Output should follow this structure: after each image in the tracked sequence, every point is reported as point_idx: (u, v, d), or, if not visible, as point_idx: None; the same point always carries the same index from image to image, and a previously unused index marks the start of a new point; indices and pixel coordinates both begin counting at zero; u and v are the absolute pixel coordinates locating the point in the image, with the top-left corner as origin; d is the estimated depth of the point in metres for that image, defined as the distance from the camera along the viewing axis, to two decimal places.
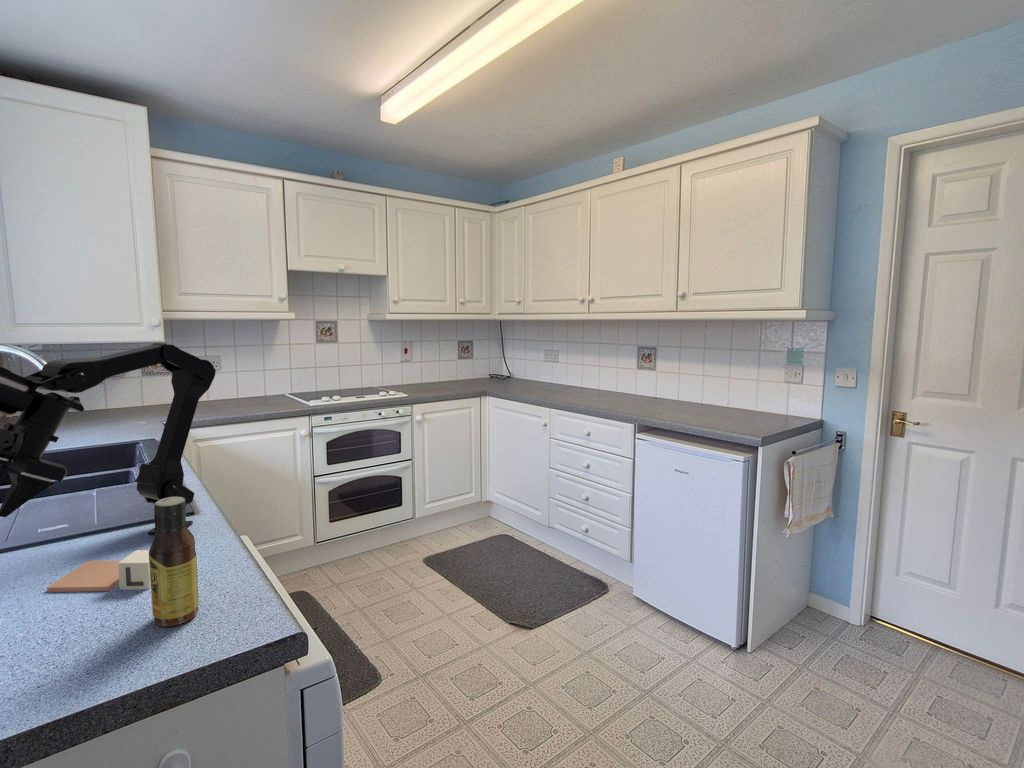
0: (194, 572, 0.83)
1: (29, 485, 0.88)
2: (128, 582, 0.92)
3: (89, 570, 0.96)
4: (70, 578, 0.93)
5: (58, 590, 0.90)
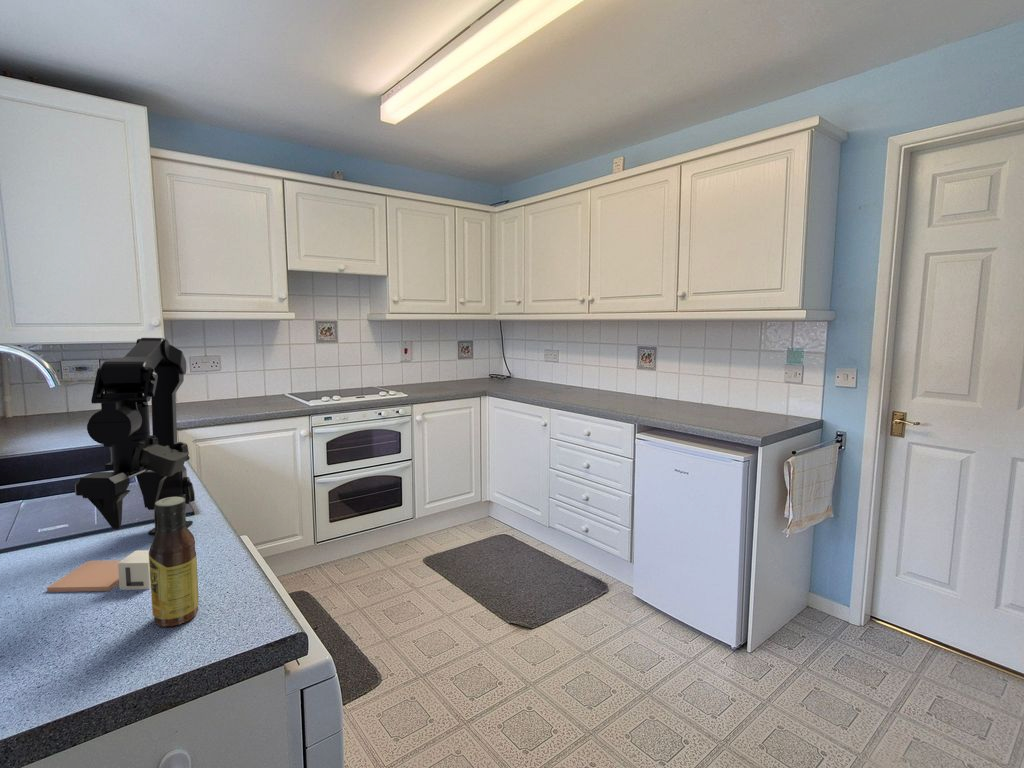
0: (194, 572, 0.83)
1: None
2: (128, 583, 0.92)
3: (89, 570, 0.96)
4: (70, 578, 0.93)
5: (58, 590, 0.90)
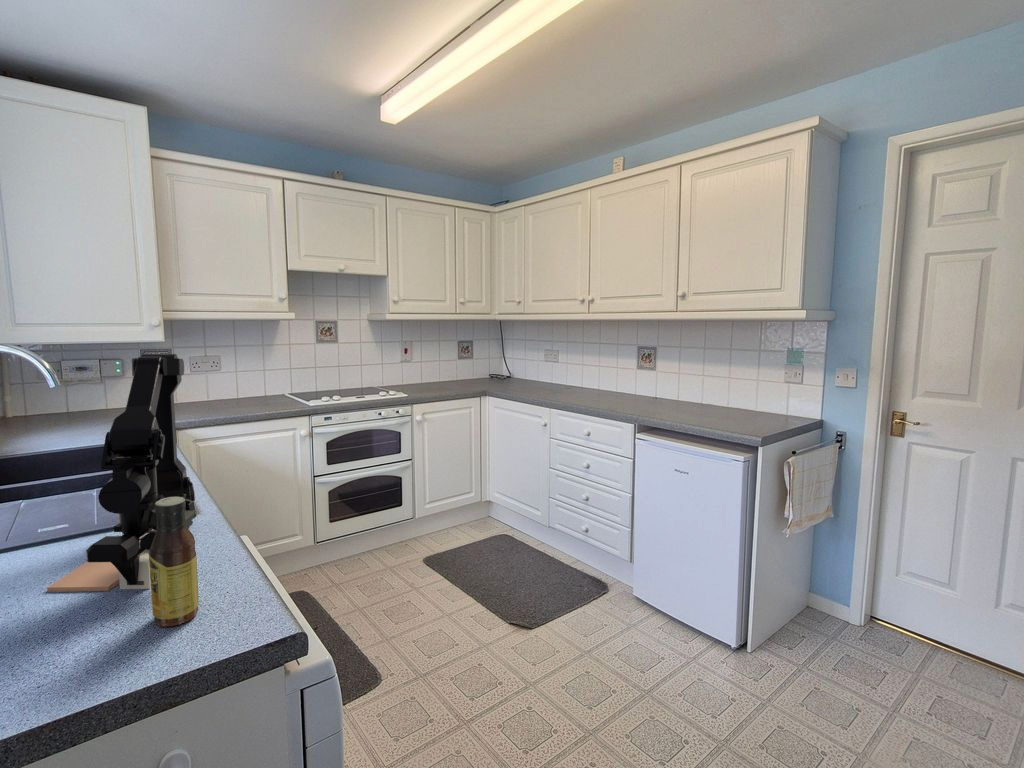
0: (194, 572, 0.83)
1: None
2: None
3: (89, 570, 0.96)
4: (70, 578, 0.93)
5: (58, 590, 0.90)
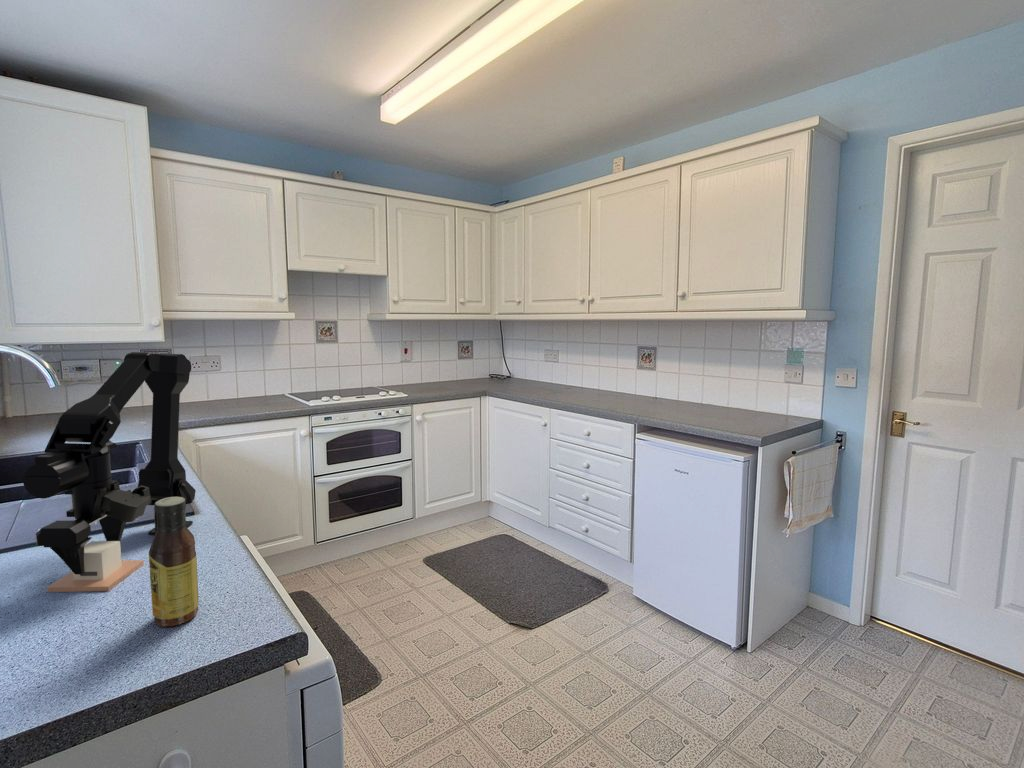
0: (194, 572, 0.83)
1: None
2: None
3: None
4: (70, 578, 0.93)
5: (58, 590, 0.90)
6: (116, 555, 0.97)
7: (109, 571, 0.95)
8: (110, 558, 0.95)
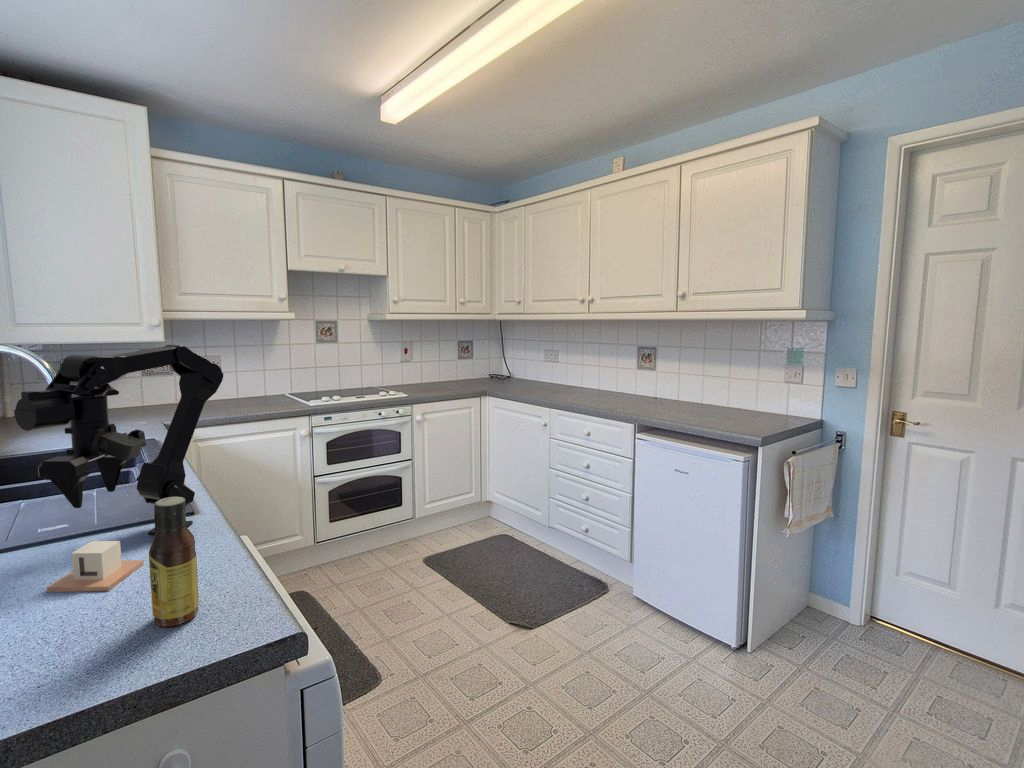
0: (194, 572, 0.83)
1: None
2: (82, 572, 0.93)
3: None
4: (70, 578, 0.93)
5: (58, 590, 0.90)
6: (116, 555, 0.97)
7: (109, 571, 0.95)
8: (110, 558, 0.95)
